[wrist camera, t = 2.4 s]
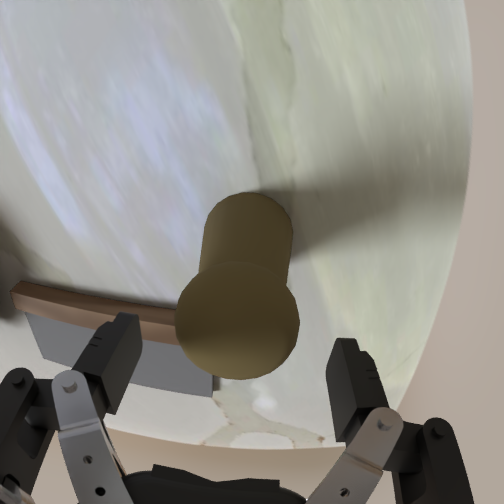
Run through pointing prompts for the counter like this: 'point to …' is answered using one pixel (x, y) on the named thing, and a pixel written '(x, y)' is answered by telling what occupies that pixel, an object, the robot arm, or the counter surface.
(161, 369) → the slate mat
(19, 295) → the walnut rail
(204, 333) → the olive pawn-shaped piece
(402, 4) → the counter surface
